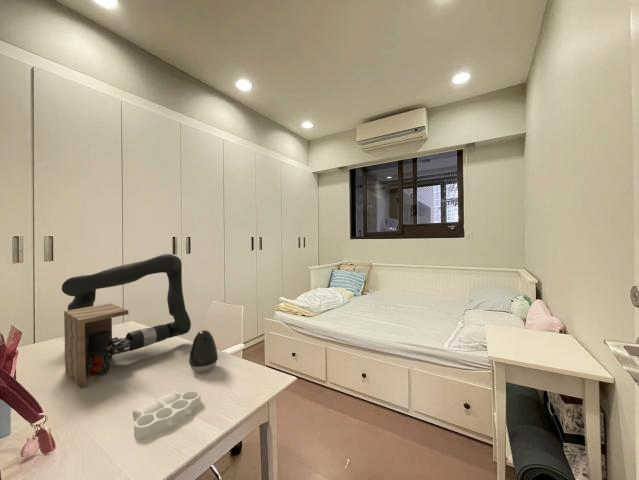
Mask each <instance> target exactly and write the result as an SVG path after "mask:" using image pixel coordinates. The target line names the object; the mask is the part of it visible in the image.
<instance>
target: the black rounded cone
mask: <svg viewBox="0 0 639 480" xmlns="http://www.w3.org/2000/svg"><path fill="white" fill-rule="evenodd" d="M218 357H219V355H218V349H217V345H216V342H215V339H214V336H213V335H212V333H211V332H210V331H208V330H206V329H205V330H200V331H198V333H196V335H195V337H194V338H193V341H192V345H191V348H190V353H189V360H188V364H189V366H190V368H191V369H192V371H194V373H199V374H202V373H203V374H204V373H208V372H210V371H211V370H213V368H214V367H215V366H216V364H217V361H218Z"/></svg>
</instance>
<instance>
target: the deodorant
mask: <svg viewBox="0 0 639 480" xmlns="http://www.w3.org/2000/svg"><path fill="white" fill-rule="evenodd" d="M108 347H109V331H99V332H94V333H91V334H90V335H89V366H88V367H89V369H88V370H89V376H90V377H100V376H103V375H105V374H108V373H109V372H110V370H111V369H110V368H111V366H110V364H111V363H110V360H111V359H109V355H107V354H106V355H103V356H100V357H96V358H95V357H94V352H95V351H98V350H101V349H105V348H106V349H107V348H108Z"/></svg>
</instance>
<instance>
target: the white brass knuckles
mask: <svg viewBox="0 0 639 480" xmlns="http://www.w3.org/2000/svg"><path fill="white" fill-rule="evenodd" d="M201 396H202V395H201V393H200V391H197V390H190V391H185V392H179V391H177V390H173V391H170V392H169V393H167V394H166V395H164V396H162V397H160V398H157V399H155V400H153V401H152V402H149V403H147V404H146V405H144V406H141V407H139V408H137V409H135V410H133V411H132V418H133V419H134V422H133V436H134V438H135V439H138V440H143V439H148V438H150V437H152V436H153V435H154V434H156V433H158V432H161V431H166V430H169V429H171V428H173V427H174V426H175V425H176V424H177V423H180V422H182V421H184V420H186V419H187V418H188V417H189V416H191V415H192V414H193V413H192V412H193V411H194V410H195V409H198V408H199V407H200V406H201V403H202V399H201V398H202V397H201Z"/></svg>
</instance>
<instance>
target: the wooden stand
mask: <svg viewBox="0 0 639 480" xmlns="http://www.w3.org/2000/svg"><path fill="white" fill-rule="evenodd" d="M63 315H64V316H63V318H64V319H63V322H64V323H63V324H64V325H63V326H64V327H63V329H64V331H63V332H64V371H65V372H64V373H65V374H67V376H68V377H70V379H71V380H72V381H73V382H74V383H75V385H76V386H77V387H78V388H79V389H83V388H86V387H87V381H86V380H87V379H86V378H87V376H86V375H87V373H86V372H87V371H86V368H87V367H89V353H88V348H89V335H90V334H91V333H94V332H99V331H109V339H112V338H113V325H112V324H113V321H112V320H113V318H117V317H122V316H127V315H129V309H126V308H123V307H121V306H119V305H116V304H113V303H111V302H110V303H105V304H98V305H93V306H91V307H86V308H80V309H74V310H68V309H67V310H64V311H63ZM109 359H110V360H112V359H113V355H111V354H110V355H109Z"/></svg>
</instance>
